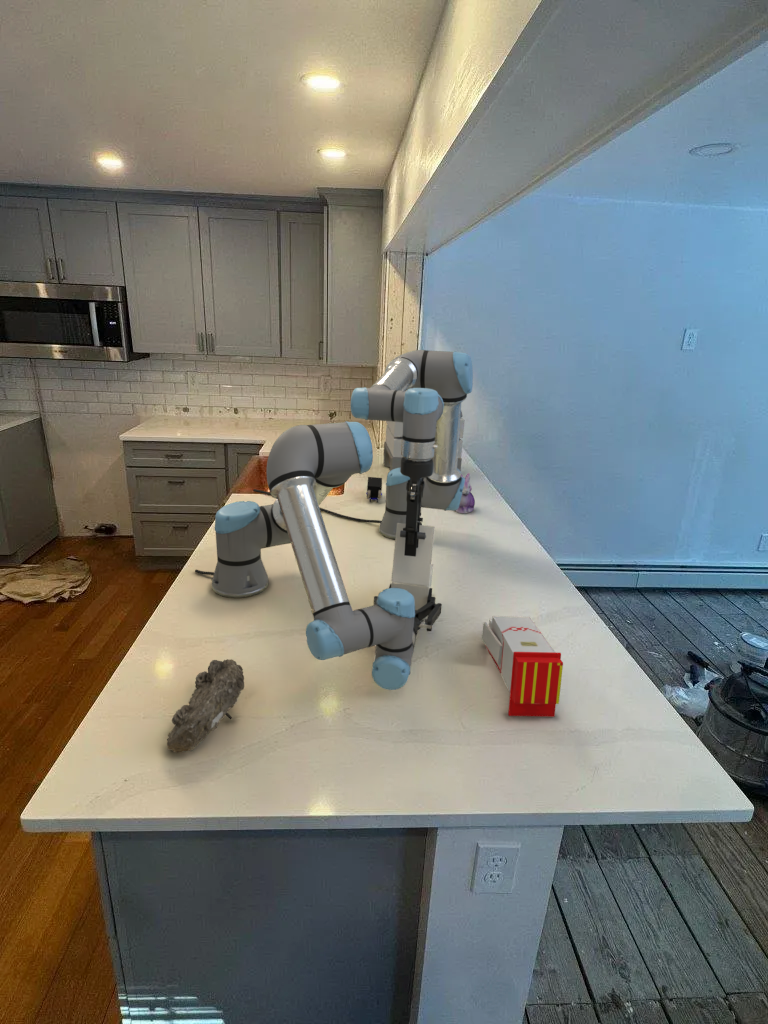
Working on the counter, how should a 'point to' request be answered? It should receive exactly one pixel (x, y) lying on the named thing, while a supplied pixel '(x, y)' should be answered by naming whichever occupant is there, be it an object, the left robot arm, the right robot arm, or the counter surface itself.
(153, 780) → the counter surface
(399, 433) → the transformer
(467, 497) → the figurine
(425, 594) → the white cabinet body
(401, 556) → the lid
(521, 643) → the toy
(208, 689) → the fossil
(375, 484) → the figurine character
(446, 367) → the right robot arm
